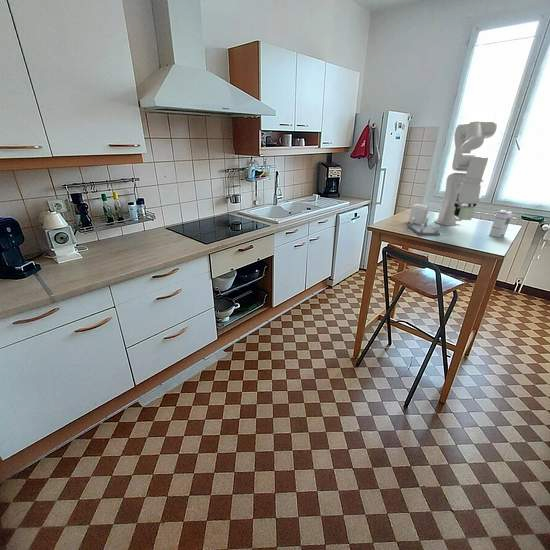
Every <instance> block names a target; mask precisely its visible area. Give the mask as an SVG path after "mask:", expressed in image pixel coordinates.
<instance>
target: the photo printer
mask: <svg viewBox="0 0 550 550" xmlns="http://www.w3.org/2000/svg"><path fill="white" fill-rule="evenodd" d="M428 213H429V207H428V206H427V205H425V204H422V203H414V204H412V206H411V209H410V213H409V218H408V222H409V223H411V218H412V217H414V222H413V224H418V225H422V224H424V223H425V219H426V218H428V217H427V216H428Z"/></svg>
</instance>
